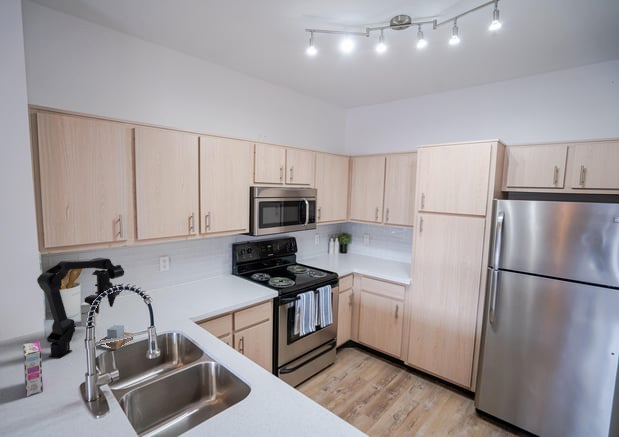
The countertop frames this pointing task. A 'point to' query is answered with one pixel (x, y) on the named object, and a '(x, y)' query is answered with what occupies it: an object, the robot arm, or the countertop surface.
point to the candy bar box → (33, 368)
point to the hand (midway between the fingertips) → (104, 310)
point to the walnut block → (118, 342)
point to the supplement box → (84, 313)
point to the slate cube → (115, 331)
